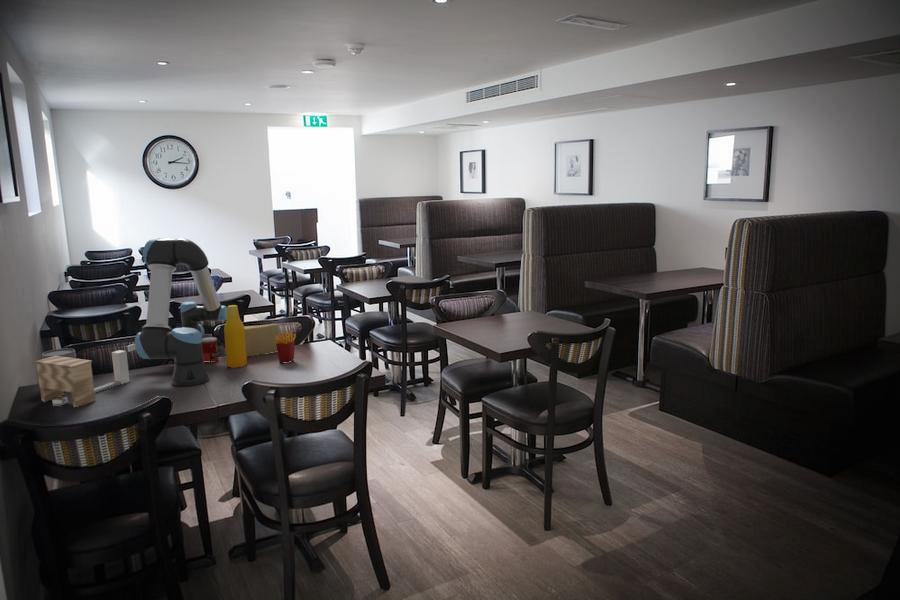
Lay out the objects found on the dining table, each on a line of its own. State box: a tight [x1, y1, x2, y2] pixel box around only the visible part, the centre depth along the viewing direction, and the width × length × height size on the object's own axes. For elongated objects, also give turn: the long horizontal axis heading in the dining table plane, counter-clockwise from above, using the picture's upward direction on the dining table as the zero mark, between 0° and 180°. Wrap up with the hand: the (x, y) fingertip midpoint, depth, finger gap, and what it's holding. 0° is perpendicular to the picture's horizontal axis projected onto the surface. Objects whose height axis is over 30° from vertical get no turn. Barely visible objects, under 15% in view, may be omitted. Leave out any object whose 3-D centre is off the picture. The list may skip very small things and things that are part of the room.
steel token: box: [51, 396, 69, 407], centre depth 239 cm, size 5×5×2 cm
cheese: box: [244, 323, 281, 358], centre depth 307 cm, size 22×10×15 cm, turn 112°
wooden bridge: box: [34, 356, 96, 408], centre depth 241 cm, size 21×9×17 cm, turn 68°
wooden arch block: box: [94, 349, 131, 394], centre depth 257 cm, size 20×4×14 cm, turn 158°
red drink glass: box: [201, 336, 220, 362], centre depth 297 cm, size 8×8×11 cm
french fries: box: [275, 330, 297, 363], centre depth 294 cm, size 9×8×15 cm
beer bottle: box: [223, 304, 248, 369], centre depth 287 cm, size 9×9×29 cm
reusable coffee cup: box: [41, 348, 77, 360], centre depth 261 cm, size 13×13×15 cm
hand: (139, 350), depth 273 cm, fingers open, 13 cm apart
